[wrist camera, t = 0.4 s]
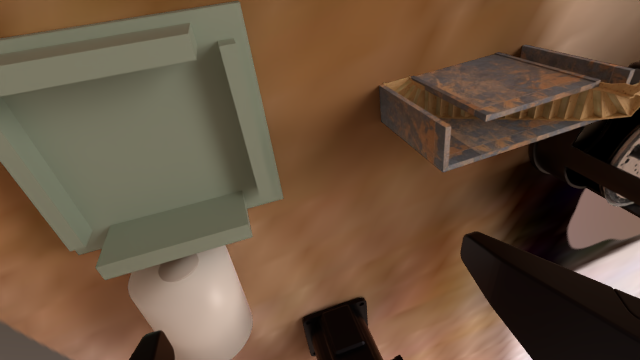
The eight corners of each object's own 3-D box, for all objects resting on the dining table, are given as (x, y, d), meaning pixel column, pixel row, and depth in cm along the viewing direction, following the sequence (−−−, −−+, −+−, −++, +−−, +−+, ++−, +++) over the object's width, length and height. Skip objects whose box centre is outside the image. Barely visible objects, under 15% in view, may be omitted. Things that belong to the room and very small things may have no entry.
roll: (246, 286, 28) (259, 352, 23) (172, 312, 26) (170, 387, 22) (222, 221, 24) (231, 284, 19) (133, 247, 22) (119, 323, 17)
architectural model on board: (522, 36, 23) (685, 70, 15) (514, 79, 25) (658, 128, 17) (375, 76, 22) (475, 136, 14) (378, 119, 23) (469, 193, 15)
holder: (280, 190, 23) (295, 231, 20) (83, 244, 21) (58, 301, 17) (237, 0, 17) (248, 9, 13) (-60, 47, 14) (-148, 74, 11)
